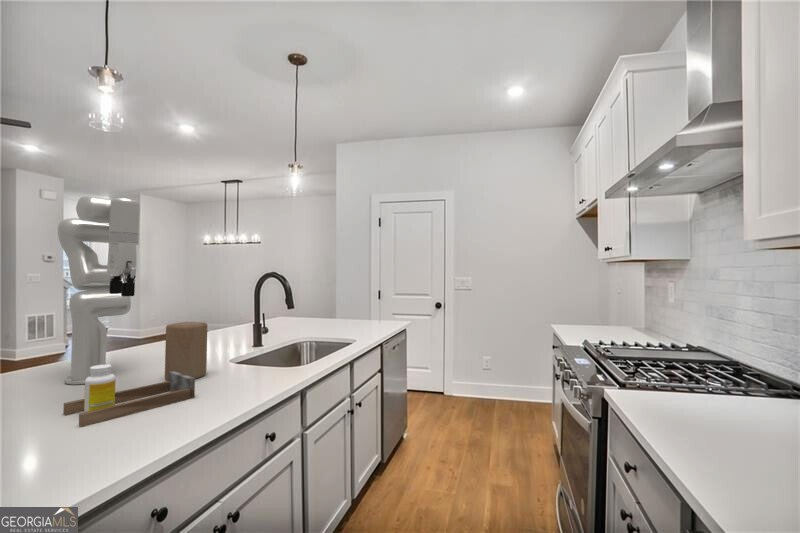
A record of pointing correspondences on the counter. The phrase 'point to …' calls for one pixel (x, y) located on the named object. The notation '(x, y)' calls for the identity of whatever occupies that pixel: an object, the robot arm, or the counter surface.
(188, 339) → the block
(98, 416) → the shelf lane
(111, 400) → the supplement bottle
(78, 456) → the counter surface
